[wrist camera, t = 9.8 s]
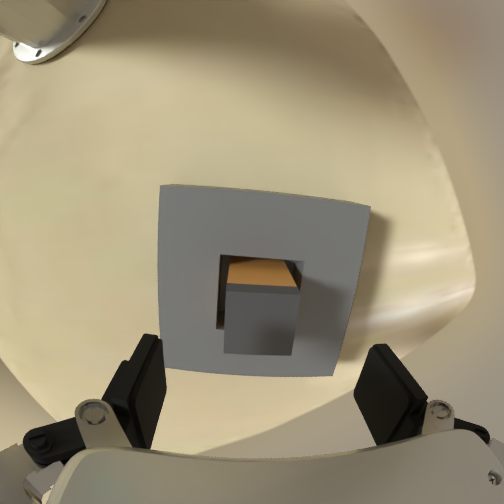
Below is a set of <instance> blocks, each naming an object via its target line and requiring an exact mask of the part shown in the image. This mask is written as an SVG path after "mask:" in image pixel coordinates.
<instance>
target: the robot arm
mask: <svg viewBox="0 0 504 504" xmlns="http://www.w3.org/2000/svg"><path fill="white" fill-rule="evenodd" d="M106 1H107V0H0V35H1V36H3V37H5V38H8V39H10V40H12V41H14V42H13V52H14V55H15V57H16V58H17V60H19V61H21V62H23V63H26V64H37V63H41V62H44V61H46V60H48V59H50V58H52V57H54V56H55V55H57V54H58V53H60V52H61V51H63V50H64V49H65V48H67V47H68V46H69V45H70V44H72V43H73V42H74V41H75V40H76V39H77V38H78V37H79V36H80V35H81V34H82V33H83V32H84V31H85V30H86V29H87V28H88V27H89V26H90V25H91V23H92V22H93V21H94V20H95V18H96V17H97V16H98V14H99V13H100V11H101V10H102V8H103V7H104V5H105V3H106ZM166 389H167V386H166V376H165V366H164V355H163V342H162V339H158V336H157V335H152V334H144V335H143V336H142V338H141V340H140V342H139V344H138V345H137V347H136V349H135V351H134V353H133V355H132V356H131V358H130V360H129V361H127V360H123V361H122V362H121V364H120V366H119V368H118V369H117V371H116V373H115V375H114V377H113V378H112V380H111V382H110V384H109V386H108V388H107V390H106V391H105V393H104V395H103V397H102V399H101V400H99V399H88V400H85V401H83V402H81V403H80V404H79V405H78V406H77V407H76V410H75V417H73V418H70V419H67V420H63V421H60V422H56V423H53V424H49V425H46V426H42V427H38V428H34V429H32V430H30V431H29V432H27V433H26V435H25V436H24V438H23V444H21V445H19V446H18V445H17V444H14V445H12V446H10V447H9V448H7V449H5V450H3V451H1V452H0V504H42V501H41V499H42V496H43V495H44V494H45V493H46V492H47V491H49V490H50V489H51V488H50V486H52V485H53V484H54V486H53V489H52V491H51V493H50V496H49V498H48V501H47V503H46V504H504V444H503V443H501V442H500V441H498V440H496V439H494V438H492V440H490V435H489V433H488V431H487V430H486V429H485V428H484V427H482V426H479V425H476V424H473V423H470V422H466V421H463V420H460V419H457V418H454V410H453V408H452V407H451V405H450V404H448V403H447V402H444V401H442V400H433V401H430V402H429V403H427V401H426V400H427V398H428V396H427V395H426V394H425V392H424V391H423V390H422V388H421V387H420V386H419V384H418V383H417V382H416V380H415V379H414V378H413V377H412V375H411V374H410V373H409V371H408V370H407V369H406V368H405V366H404V365H403V364H402V362H401V361H400V360H399V359H398V357H397V356H396V355H395V354H394V352H393V351H392V350H391V349H390V347H389V346H388V345H387V344H375V345H373V347H371V348H370V349H369V352H368V355H367V358H366V360H365V363H364V366H363V369H362V371H361V374H360V377H359V379H358V382H357V384H356V387H355V389H354V398H355V401H356V403H357V405H358V407H359V409H360V411H361V413H362V415H363V417H364V419H365V421H366V424H367V426H368V428H369V430H370V432H371V434H372V437H373V438H374V441H375V443H376V445H377V446H374V447H369V448H364V449H358V450H352V451H347V452H340V453H332V454H324V455H316V456H305V457H290V458H224V457H209V456H198V455H188V454H180V453H172V452H165V451H157V450H150V448H151V445H152V441H153V437H154V434H155V430H156V426H157V423H158V419H159V416H160V412H161V409H162V405H163V402H164V398H165V395H166Z"/></svg>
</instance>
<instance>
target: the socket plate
mask: <svg viewBox="0 0 504 504" xmlns="http://www.w3.org/2000/svg"><path fill="white" fill-rule="evenodd" d="M370 208H371V206H367V205H363V204H358V203H354V202H349V201H342V200H335V199H328V198H321V197H313V196H305V195H297V194H288V193H279V192H270V191H260V190H249V189H238V188H226V187H212V186H196V185H178V184H170V185H160V196H159V217H158V304H159V325H160V339H162V342H163V355H164V366H165V368H172V369H179V370H187V371H196V372H205V373H216V374H229V375H244V376H268V377H318V376H333V373H334V370H335V366H336V363H337V360H338V357H339V353H340V350H341V346H342V343H343V339H344V336H345V332H346V328H347V324H348V320H349V317H350V313H351V308H352V304H353V300H354V296H355V291H356V287H357V282H358V277H359V273H360V268H361V263H362V257H363V252H364V246H365V241H366V235H367V228H368V222H369V215H370ZM230 256H245V257H259V258H271V259H283V260H284V262H285V264H286V266H287V268H288V270H289V272H290V274H291V276H292V278H293V280H294V282H295V284H296V285H297V287H298V289H299V291H300V293H301V300H300V306H299V313H298V319H297V325H296V331H295V337H294V343H293V349H292V354H291V356H274V355H243V354H225V353H224V324H225V300H226V286H227V279H228V271H229V264H230Z"/></svg>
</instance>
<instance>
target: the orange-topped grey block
mask: <svg viewBox="0 0 504 504" xmlns="http://www.w3.org/2000/svg"><path fill="white" fill-rule="evenodd" d="M300 300H301V293H300V291H299V289H298V287H297V285H296V284H295V282H294V280H293V278H292V276H291V274H290V272H289V270H288V268H287V266H286V264H285V262H284V260H283V259H271V258H259V257H245V256H230V264H229V271H228V279H227V286H226V300H225V324H224V353H225V354H243V355H274V356H291V354H292V349H293V343H294V337H295V331H296V325H297V319H298V313H299V306H300Z"/></svg>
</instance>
